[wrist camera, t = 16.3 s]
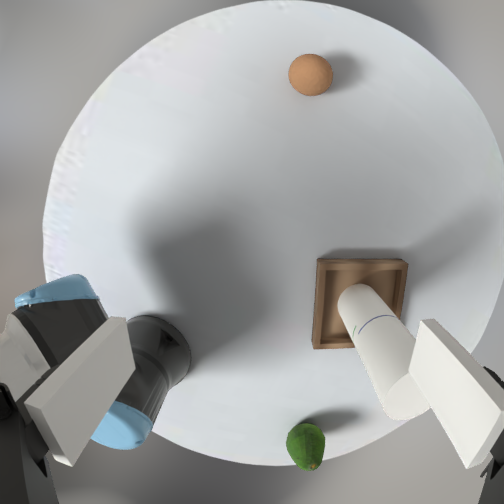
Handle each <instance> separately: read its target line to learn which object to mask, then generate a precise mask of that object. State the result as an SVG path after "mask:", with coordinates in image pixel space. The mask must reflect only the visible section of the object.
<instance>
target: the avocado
mask: <svg viewBox="0 0 504 504" xmlns="http://www.w3.org/2000/svg"><path fill="white" fill-rule="evenodd" d="M286 446H287V450H288V452H289V454H290V456H291V458H292V459H293V461H294V462H295V463H296V465H297V466H298V467H300V468H301V469H303V470H306V471H311V470H315V469H317V468H318V467H319V465H320V464H321V462H322V458H323V454H324V448H325V437H324V435H323V433H322V431H321V430H320V429H319V428H318V427H317V426H315V425H313V424H309V423H304V424H299V425H296V426H294V427H293V428H292V430H291V431H290V432H289V433H288V437H287V441H286Z"/></svg>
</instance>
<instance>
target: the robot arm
mask: <svg viewBox="0 0 504 504" xmlns="http://www.w3.org/2000/svg"><path fill="white" fill-rule="evenodd" d="M99 300H100V298H99V297H98V296H96V294H95V292H94V290H93V289H92V287H91V285H90V283H89V282H88V280H87V279H86V278H85V277H84V276H82V275H80V274H73V275H69V276H66V277H63V278H60V279H57V280H54V281H51V282H49V283H46V284H44V285H42V286H39V287H37V288H35V289H33V290H30V291H28V292H25V293H23V294H21V295H19V296H18V297H17V298H16V299H15V307H16V308H17V310H16V311H14V312H12V313H11V314H9V315H8V317H7V323H6V327H5V331H4V332H3V333H1V334H0V504H59V502H58V499H57V495H56V491H55V488H54V484H53V480H52V476H51V471H50V467H49V462H48V460H47V458H46V456H45V455H46V453H47V452H48V450H50V452H51V453H52V455H53V457H54V458H55V460H57V461H59V462H62V463H64V464H66V465H69V466H73V465H74V463H75V462H76V460H77V458H78V457H79V455H80V454H81V452H82V451H83V449H84V447H85V446H86V444H87V442H88V441H89V439H90V438H91V439H93V440H94V441H96V442H98V443H100V444H103V445H105V446H108V447H111V448H115V449H122V450H123V449H124V450H127V449H134V448H136V447H138V446H140V445H141V444H142V443H143V442H144V441H145V439H146V437H147V435H148V434H149V432H151V430H152V428H153V425H154V422H155V420H156V418H157V415H158V413H159V411H160V408H161V406H162V404H163V401H164V399H165V397H166V394H167V392H168V391H169V390H170V389H171V388H172V387H174V386H175V385H177V384H178V383H179V382H181V381H182V379H183V378H184V377H185V375H186V374H187V371H188V369H189V366H190V363H191V353H190V349H189V346H188V344H187V342H186V340H185V338H184V337H183V336H182V334H181V333H180V332H179V331H178V330H177V329H176V328H175V327H173V326H172V325H171V324H169V323H167V322H166V321H164V320H161V319H159V318H156V317H151V316H139V317H135V318H132V319H130V320H129V321H127V322H126V318H122V317H112V316H111V317H110V318H109V317H108V316H107V314H106V312H105V310H104V308H103V306H102V304H101V303H100V301H99ZM408 371H409V373H410V374H411V376H412V377H413V379H414V381H415V382H416V384H417V385H418V387H419V388H420V390H421V392H422V393H423V395H424V397H425V398H426V400H427V401H428V403H429V405H430V406H431V408H432V410H433V411H434V413H435V415H436V416H437V418H438V420H439V421H440V423H441V425H442V426H443V428H444V430H445V432H446V433H447V435H448V437H449V439H450V440H451V442H452V444H453V446H454V447H455V449H456V451H457V453H458V455H459V456H460V458H461V460H462V462H463V464H464V465H465V467H466V469H468V468H471V467H473V466H475V465H478V464H480V463H482V462H483V461H484V459H485V458H486V456H487V455H488V454H489V452H491V454H492V455H493V458H492V460H491V461H490V463H489V464H488V465H487V467H486V468H485V470H484V471H483V472H482V474H481V476H480V477H483V476H484V475H485V473H486V472H487V476H486V479H485V483H484V486H483V490H482V493H481V497H480V500H479V503H478V504H504V382H503V381H501V379H500V378H499V377H498V375H497V374H496V373H495V372H493V371H492V370H490V369H488V368H486V367H482V366H481V365H480V364H479V363H478V362H477V361H476V360H475V359H474V358H473V357H472V356H471V355H470V353H469V352H468V351H467V350H466V349H465V348H464V347H463V346H462V345H461V344H460V343H459V342H458V341H457V340H456V339H455V338H454V337H453V336H452V335H451V334H450V333H449V332H447V331H446V330H445V329H444V328H443V327H442V326H441V325H440V324H439V323H438V322H437V321H436V320H435V319H426V320H420V325H419V330H418V334H417V338H416V343H415V347H414V351H413V355H412V358H411V362H410V366H409V369H408Z"/></svg>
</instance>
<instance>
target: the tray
mask: <svg viewBox="0 0 504 504" xmlns="http://www.w3.org/2000/svg"><path fill="white" fill-rule="evenodd" d="M407 269H408V263H406V262H405V261H403V260H402V259H317V270H316V288H315V303H314V317H313V330H312V345H313V349H338V348H356V347H355V345H354V343H353V341H352V339H351V337H350V335H349V333H348V331H347V329H346V326H345V324H344V322H343V320H342V318H341V316H340V314H339V312H338V300H339V297H340V295H341V294H342V293H343V291H344V290H345V289H347V288H348V287H350V286H352V285H355V284H365V285H368V286H370V287H371V288H372V289H373V290H374V291H375V292H376V293H377V294H378V295H379V297H380V298H381V299H382V300H383V301H384V302H385V304H386V305H387V306H388V307H389V308H390V309H391V311H392V312H393V313H394V314H395V315H396V316H397V318H398V319H399V320H400V315H401V310H402V304H403V298H404V291H405V284H406V277H407Z"/></svg>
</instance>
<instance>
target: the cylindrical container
mask: <svg viewBox="0 0 504 504" xmlns="http://www.w3.org/2000/svg"><path fill="white" fill-rule="evenodd" d="M338 312H339V314H340V316H341V318H342V320H343V322H344V324H345V326H346V329H347V331H348V333H349V335H350V337H351V339H352V341H353V343H354V345H355V347H356V350H357V352H358V354H359V356H360V358H361V360H362V363H363V365H364V367H365V369H366V371H367V373H368V376H369V378H370V380H371V382H372V385H373V387H374V389H375V391H376V394H377V396H378V398H379V400H380V403H381V405H382V407H383V410H384V412H385V414H386V415H387V416H388V417H389V418H391V419H394V420H408V419H411V418H414V417H416V416H419V415H420V414H422V413H424V412H425V411H427V410H428V409H429V408H430V407H431V406H430V405H429V403H428V401H427V400H426V398H425V397H424V395H423V393H422V392H421V390H420V388H419V387H418V385H417V384H416V382H415V381H414V379H413V377H412V376H411V374H410V373H409V371H408V369H409V366H410V362H411V358H412V355H413V351H414V347H415V343H416V339H415V338H414V337H413V336H412V334H411V333H410V332H409V331H408V329H407V328H406V327H405V326H404V325H403V324H402V322H401V321H400V320H399V319H398V318H397V316H396V315H395V314H394V313H393V312H392V311H391V309H390V308H389V307H388V306H387V305H386V304H385V302H384V301H383V300H382V299H381V298H380V297H379V295H378V294H377V293H376V292H375V291H374V290H373V289H372V288H371V287H370V286H368V285H365V284H355V285H352V286H350V287H348V288H347V289H345V290H344V291H343V293H342V294H341V295H340V297H339V300H338Z"/></svg>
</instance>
